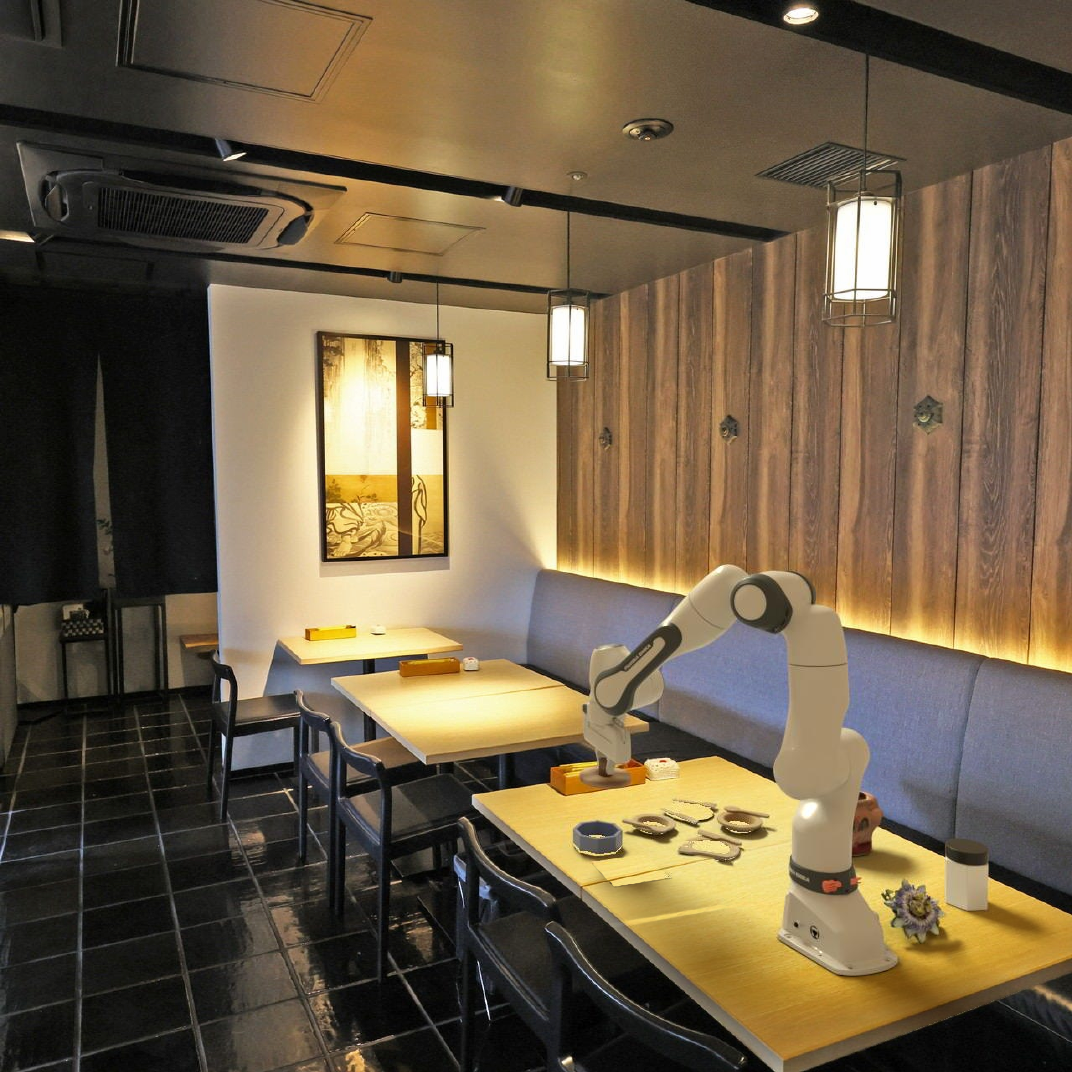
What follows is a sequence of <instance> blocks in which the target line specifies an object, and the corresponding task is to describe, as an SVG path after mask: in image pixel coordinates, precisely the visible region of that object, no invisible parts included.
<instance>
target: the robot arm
mask: <svg viewBox="0 0 1072 1072" xmlns="http://www.w3.org/2000/svg"><path fill="white" fill-rule="evenodd" d="M816 602H817V592H816V588H815V585H814V584H813V582H812V581H811V580H810V579H809V578H808V577H807V576H806V575H804V574H802V573H800V572H797V571H792V570H783V571H781V570H779V571H778V570H767V571H763V572H762V571H761V572H760V573H759V572H758V573H752V574H749V573H747V572H746V571H745V570H743V569H742V568H741V567H739V566H737V565H733V564H723V565H720V566H719V567H717V568H716V569H714V570H713V571H711V572H710V573H709V574H708V575H706V576H705V577H704V578H703V579H702V580H700V581H699V582H698V583H697V584H696V585H695V586H694V587H693V588H692V589H691V590H690V592H689V593H687V595H686V596H685V597H684V598H683V599H682V600H681V601H680V603H678V605H677V606H676V607H674V609H673V611H672V612H671V613H670V614H669V615H668V616H667V617H666V618H665V619H664V620H663V621H662V622H661V623H660V624H659V625H658V627H656V629H654V630H653V631H652V632H651V633H650V634H649V635H648V636H647V637H646V638H645V639H644V640H642V642H640V643H639V644H638V646H636V647H635V648H634V649H633V650H632V651H631V652H630V651H629V650H628V647H627V646H625V645H624V644H621V643H611V644H603V645H599V646H597V647H596V648H594V649H593V651H592V654H591V658H590V662H589V678H588V679H589V680H588V681H589V685H590V693H589V695H588V701H587V702H583V703H581V712H582V713H583V714H582V735H583V738H584V740H585V741H586V742H588V743H589V744H590V745H591V746H592V747H594V752H595V757H596V762H597V763H596V764H597V765H596V766H598V767H599V758H602V757H607V760H608V762H607V765H605V772H606V773H607V774H608V775H611V774H614V769H615V767H616V765H618V764H629V763H630V761H631V758H632V747H631V746H632V744H631V734H630V731H629V729H628V728H627V727H626V724H625V722H626V721H627V713H628V712H630V711H633V710H637V709H640V708H643V707H646V706H648V705H651V704H654V703H655V702H657V701H659V700H660V699H661V698H662V697H663V695H664V692H665V679H664V676H663V673H662V671H661V670H660V667H662V666H663V665H664V664H666V663H667V662H669V661H671V660H672V659H674V658H676V657H679V656H682V655H684V654H687V653H689V652H693V651H695V650H699V649H702V648H705V647H707V646H709V645H710V644H712V643H713V642H715V641H716V640H717V639H719V638H720V637H721V636H722V635H724V634H725V633H726V632H727V631H728V630H729V629H730V628H731V627H732V625H734V623H735V622H736V621H737V620H738V621H740V622H741V623H742V624H744V625H746V626H748V627H751V628H754V629H758V630H761V631H764V632H766V633H769V634H771V635H776V634H779V633H781V634H782V635H783V637H784V639H785V642H786V649H787V650H786V651H787V670H788V671H787V672H788V673H787V674H788V676H787V677H788V690H789V691H788V698H789V699H788V700H789V701H788V711H787V718H786V723H785V728H784V729H785V730H784V734H783V739H782V743H781V748H780V750H779V752H778V754H777V755H776V758H775V760H774V763H773V767H772V769H773V771H772V772H773V777H774V780H775V783H776V784H777V787H779V789H780V790H781V792H783V794H784V795H785V796H787V797H788V798H790V799H793V800H797V801H798V804H797V807H796V809H795V811H794V813H793V816H792V823H791V824H792V825H791V826H792V827H791V828H792V829H791V831H792V832H791V854H790V856H789V861H788V875H789V878H790V882H789V884H788V888H787V891H786V893H785V896H784V905H783V914H782V922H781V928H779V930H778V931H777V936H776V938H777V939H778V940H779V941H781V942H783V943H784V944H785V945H786V946H789V947H791V948H792V949H794V950H796V951H797V952H798V953H800V954H802V955H804V956H805V957H807V958H808V959H811V960H812V961H814V962H815V963H817V964H819V965H820V966H822V967H824V968H825V969H827V970H828V971H830V972H832V973H834V974H835V975H843V976H864V975H871V974H876V973H880V972H885V971H887V970H890V969H892V968H893V967H895V966H896V965H897V964H898V963H899V957H898V955H897V954H896V953H895V952H894V951H893V949H891V948H890V946H888V945H887V944H886V943H885V940H884V930H883V926H882V923H881V922H880V915H879V913H878V911H876V910H872V909H871V907H870V905H869V904H868V902H867V900H866V899H865V897H864V896H863V894H862V893H861V892H860V889H859V884H862V882H861V881H860V880H862V877H857V872H856V869H855V866H854V863H853V862H852V861H853V860H852V857H853V856H852V830H853V821H854V815H855V810H856V806H857V802H858V797H859V792H860V791H861V786H862V782H863V777H864V774H865V772H866V770H867V767H868V765H869V763H870V761H871V760H870V759H871V751H870V747H869V745H868V743H867V741H866V739H865V738H864V737H863V736H862V735H861V733H859V732H857V731H856V730H853V729H852V728H848V727H843V724H844V720H845V716H846V713H847V711H848V709H849V706H850V702H851V701H850V699H851V698H850V682H849V681H850V680H849V664H848V663H849V662H848V651H847V644H846V643H847V642H846V639H845V632H844V628H843V624H842V621H841V618H840V615H839V614H838V613H837V611H835V610H834V609H832V608H831V607H828V606H825V605H822V604H816Z"/></svg>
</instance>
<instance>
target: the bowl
mask: <svg viewBox="0 0 1072 1072" xmlns="http://www.w3.org/2000/svg"><path fill="white" fill-rule="evenodd" d="M623 833H624V832H623V829H622V828H621V827H620V826H618V825H617V824H616V822H615V823H614V822H609V821H605V820H604V821H603V820H599V819H597V820H595V819H594V820H589V821H581V822H579V823H578V824H577V825H575V826H574V827H573V828H572V844H573V843H574V844H575V845H576V846H577V847H578V848H579V850H580V851H588V852H591V853H595V854H604V853H611V852H616V851H617V850H618V849H619V848H620V847H621V846H622V845H623V843H624V842H623V837H624V836H623ZM589 835H602V836H605V837H600V838H596V837H591V836H589ZM622 847H623V846H622Z"/></svg>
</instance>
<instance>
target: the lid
mask: <svg viewBox="0 0 1072 1072" xmlns="http://www.w3.org/2000/svg"><path fill="white" fill-rule="evenodd" d="M607 762H608V760H607V756H605V757H602V758H599V767H598V766H597V765H596V766H589V767H586V768H583V769H582V770H580V772H579V781H580V782H581V783H582V784H583V785H585V786H587V787H588V786H589V787H592V788H597V789H606V790H607V789H608V790H609V789H610V790H611V789H620V788H624V787H627V786H628V785H630V784H631V781H632V774H631V773H630V772H629V771H627V770H625V769H624V768H619V767H616V766H615V769H614V774H611V775H608V774H607V773H606V772H605V765H607Z"/></svg>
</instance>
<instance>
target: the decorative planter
mask: <svg viewBox="0 0 1072 1072" xmlns="http://www.w3.org/2000/svg"><path fill="white" fill-rule="evenodd" d="M883 811H884V810H882V808H880V806H879V803H878V799H877V798H876V796H874V795H873V794H871V793H869V792H867V791H866V792H865V791H862V790H860V792H859V797H858V802H857V806H856V810H855V815H854V821H853V830H852V857H854V856H855V857H856V856H864V855H868V854H870V853H871V851H872V849H873V840H872V838H873V833H874V831H876V829H877V828H879V826H880V824H881V822H882V819H883V816H884V812H883Z"/></svg>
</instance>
